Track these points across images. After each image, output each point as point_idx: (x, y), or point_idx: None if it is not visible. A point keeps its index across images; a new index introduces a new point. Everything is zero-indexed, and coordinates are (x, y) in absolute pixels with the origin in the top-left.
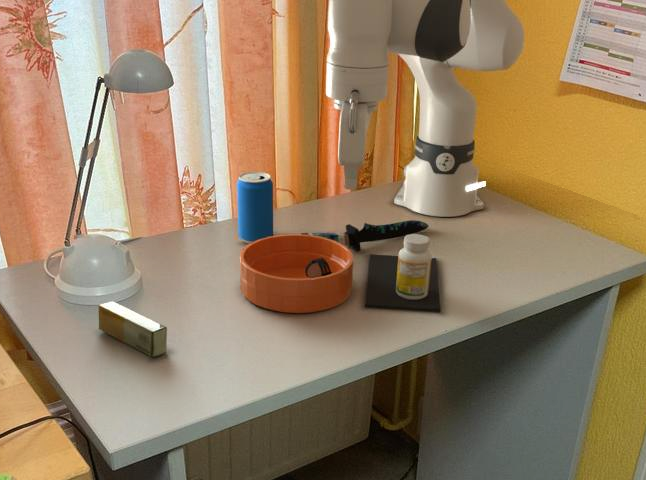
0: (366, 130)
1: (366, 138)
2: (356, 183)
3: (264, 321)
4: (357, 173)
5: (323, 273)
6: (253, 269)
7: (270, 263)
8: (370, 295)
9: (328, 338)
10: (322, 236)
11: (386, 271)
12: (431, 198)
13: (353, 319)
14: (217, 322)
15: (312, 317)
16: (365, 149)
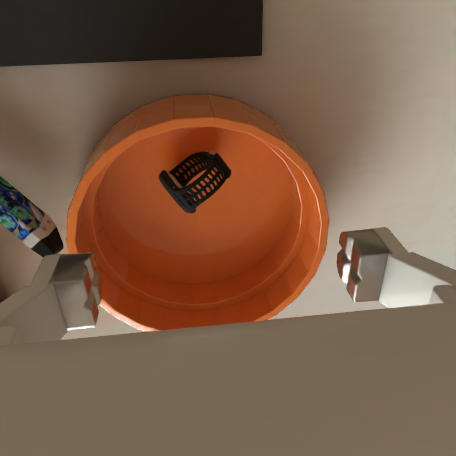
0: (367, 436)
1: (224, 363)
2: (395, 239)
3: (330, 231)
4: (443, 267)
5: (226, 174)
6: (284, 303)
7: (133, 274)
8: (214, 46)
9: (393, 116)
10: (12, 209)
11: (56, 10)
12: None
13: (316, 75)
14: (335, 290)
15: (312, 158)
16: (416, 323)
